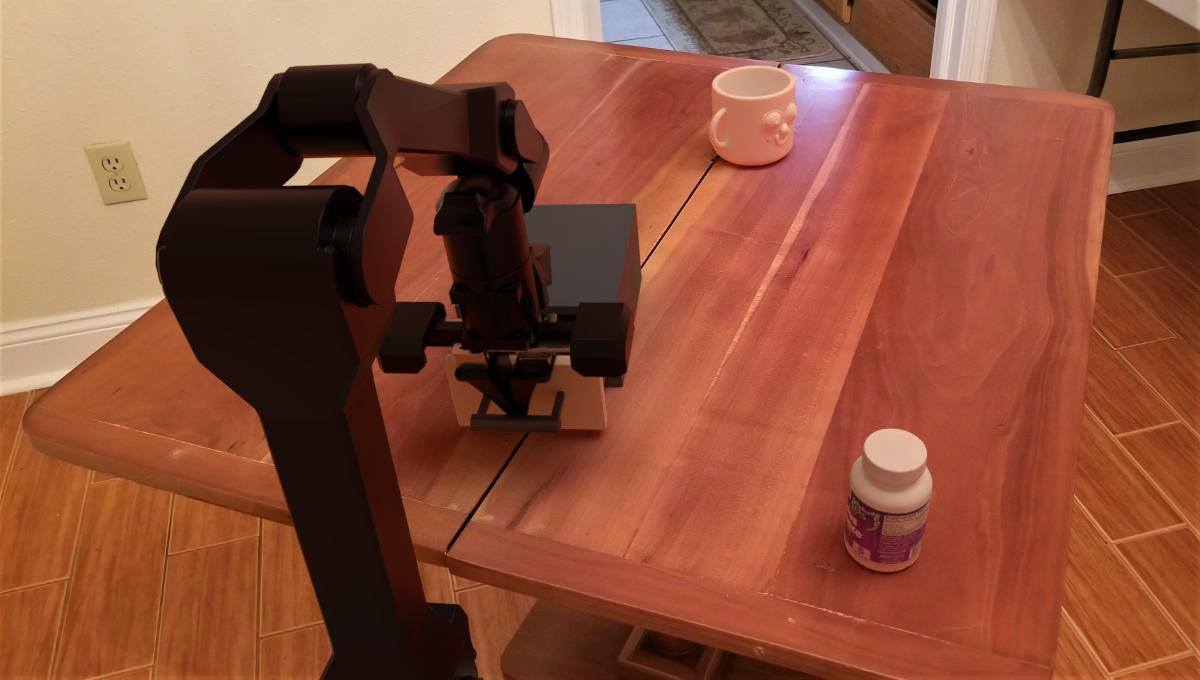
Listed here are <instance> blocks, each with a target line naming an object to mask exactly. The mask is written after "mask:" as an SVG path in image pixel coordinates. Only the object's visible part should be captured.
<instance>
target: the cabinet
mask: <svg viewBox="0 0 1200 680" xmlns="http://www.w3.org/2000/svg"><path fill="white" fill-rule="evenodd" d="M524 219H525V225H526V231H527V237H528V243H545V244H549V245H550V256H551V272H552V284H551V285H548V287H547V290H548V296H549V302H548V306H547V309H546V310H540V313H541V314H577V310H578V306H579V302H624V303H625V304H626V305H627V306H628V307H629V308H630V309H631V310H632V311H633V317H634V321H636V314H637V309H638V304H639V303H638V302H639V297H640V291H641V285H642V279H643V276H642V265H641V264H642V263H641V251H640V237H639V226H638V225H639V224H638V214H637V203H576V204H575V203H571V204H570V203H567V204H560V203H559V204H533V207H532V209H531V210H530V212H527V213H525V214H524ZM454 310H455V313H456V315H455V316H456V319H462V318H461V314H460V310H459V305H458V304H454ZM625 376H626V373H625V374H624V375H622V376H620V377H605V382H604V387H624V384H625V383H624V382H625Z"/></svg>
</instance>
